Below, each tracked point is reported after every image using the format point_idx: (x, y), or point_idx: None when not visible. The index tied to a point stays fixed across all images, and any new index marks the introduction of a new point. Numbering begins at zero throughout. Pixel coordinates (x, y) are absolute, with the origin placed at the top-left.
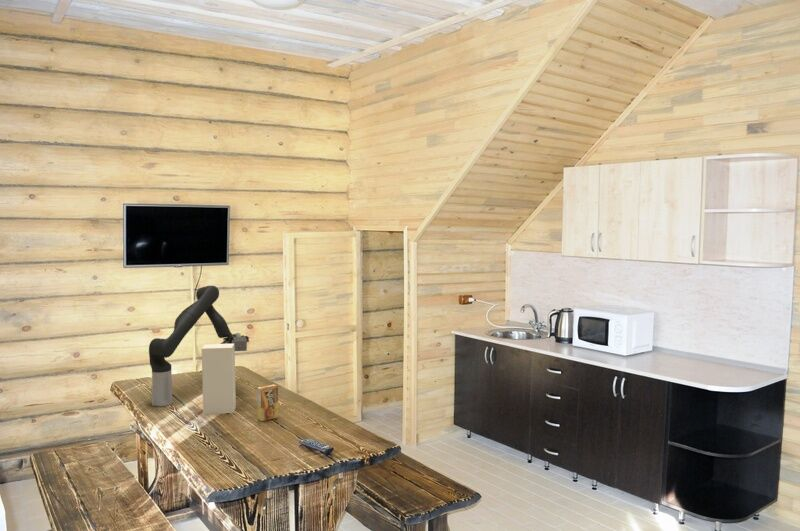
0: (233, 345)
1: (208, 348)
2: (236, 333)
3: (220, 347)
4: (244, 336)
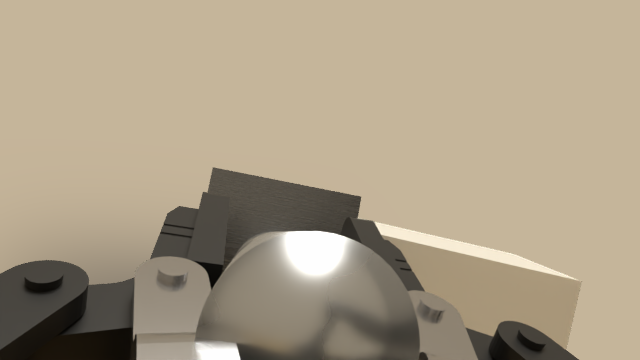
0: None
1: (471, 244)
2: (374, 254)
3: (404, 229)
4: (176, 215)
